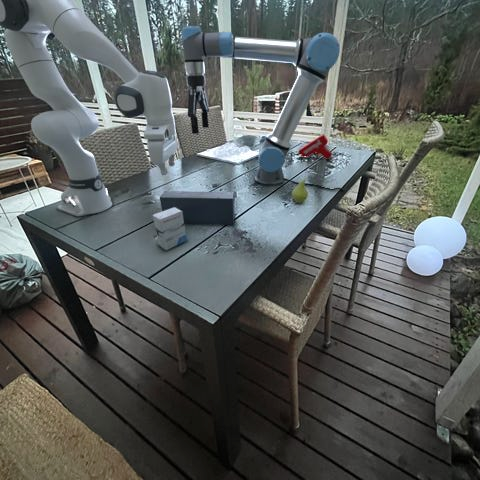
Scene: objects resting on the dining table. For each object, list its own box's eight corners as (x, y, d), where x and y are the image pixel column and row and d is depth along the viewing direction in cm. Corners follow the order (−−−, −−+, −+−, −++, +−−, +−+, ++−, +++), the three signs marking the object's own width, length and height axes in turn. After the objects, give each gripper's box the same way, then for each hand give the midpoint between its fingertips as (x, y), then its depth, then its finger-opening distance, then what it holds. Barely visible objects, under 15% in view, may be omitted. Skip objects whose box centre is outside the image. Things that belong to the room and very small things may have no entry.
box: (234, 218, 109) (234, 192, 103) (233, 225, 104) (232, 198, 98) (168, 216, 111) (164, 191, 104) (164, 223, 106) (159, 197, 100)
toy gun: (335, 153, 174) (324, 133, 170) (335, 155, 171) (323, 134, 167) (310, 168, 184) (299, 149, 180) (310, 170, 181) (298, 151, 177)
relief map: (237, 164, 168) (237, 156, 165) (197, 155, 185) (196, 147, 183) (261, 154, 186) (262, 147, 183) (222, 147, 204) (222, 140, 201)
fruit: (288, 200, 123) (290, 174, 116) (302, 197, 125) (305, 172, 119) (296, 206, 118) (299, 179, 111) (310, 203, 120) (314, 177, 114)
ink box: (179, 235, 98) (174, 206, 91) (187, 241, 95) (183, 210, 88) (158, 245, 93) (151, 214, 86) (165, 250, 90) (159, 219, 83)
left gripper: (161, 123, 98) (167, 161, 106) (141, 135, 81) (150, 179, 88) (179, 123, 98) (183, 161, 105) (162, 135, 81) (169, 179, 88)
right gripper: (197, 74, 121) (202, 125, 132) (174, 76, 100) (182, 136, 112) (213, 73, 119) (216, 125, 131) (193, 75, 99) (199, 136, 110)
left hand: (168, 169), depth 97 cm, fingers open, 8 cm apart
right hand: (200, 130), depth 121 cm, fingers open, 13 cm apart
